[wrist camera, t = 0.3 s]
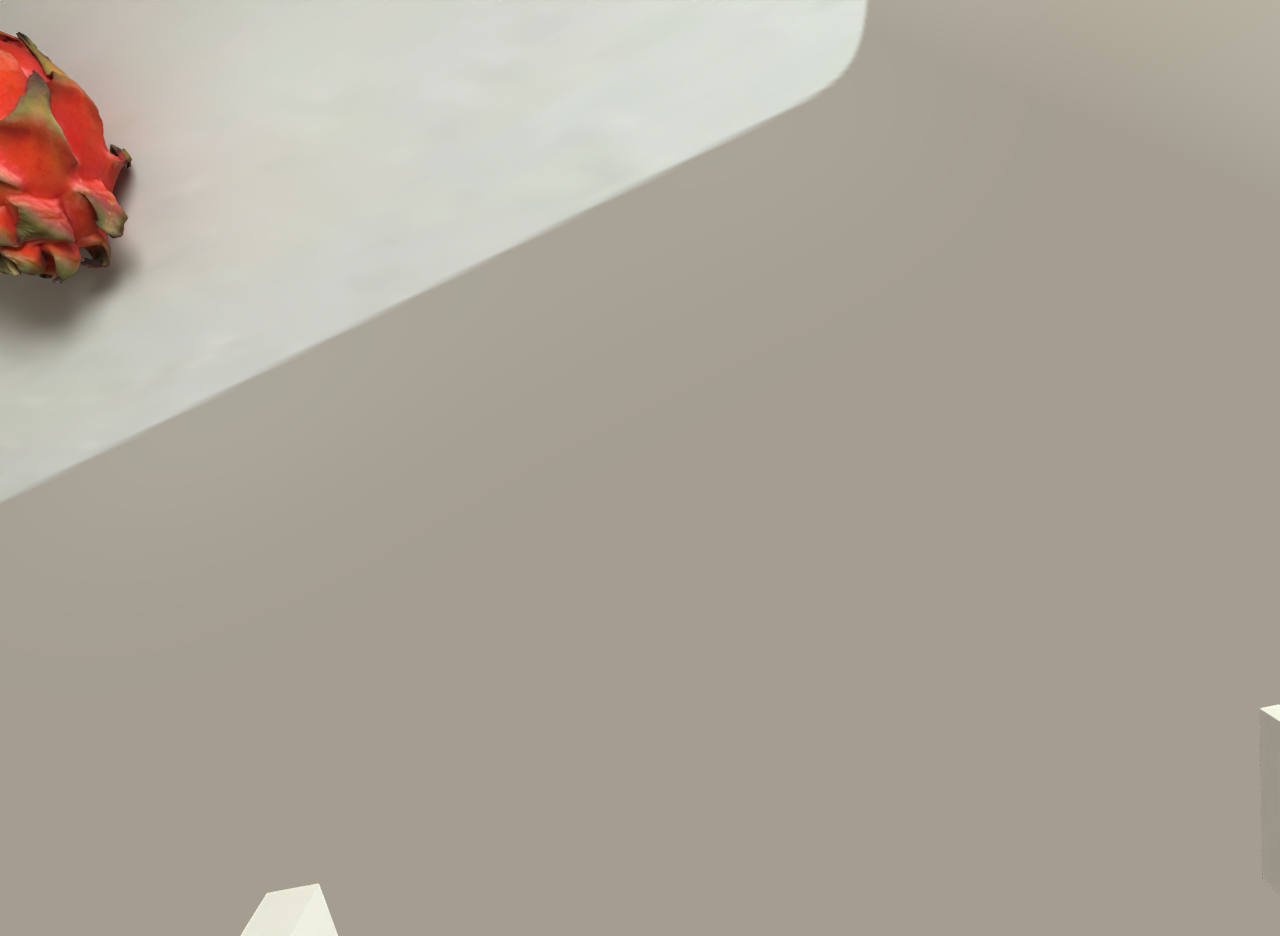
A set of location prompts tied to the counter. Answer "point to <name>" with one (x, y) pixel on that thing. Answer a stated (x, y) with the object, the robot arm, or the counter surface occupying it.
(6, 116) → the dragon fruit
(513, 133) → the counter surface
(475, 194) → the counter surface
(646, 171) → the counter surface
